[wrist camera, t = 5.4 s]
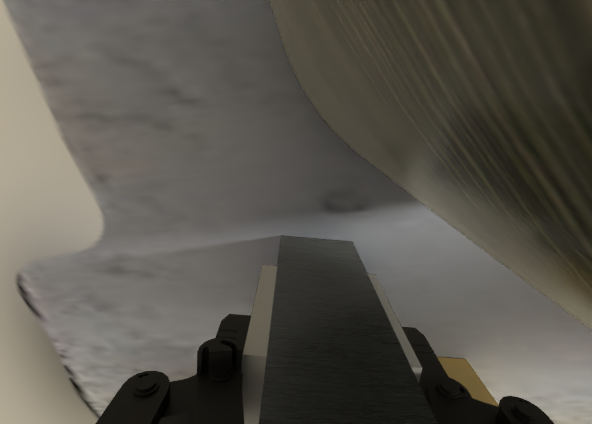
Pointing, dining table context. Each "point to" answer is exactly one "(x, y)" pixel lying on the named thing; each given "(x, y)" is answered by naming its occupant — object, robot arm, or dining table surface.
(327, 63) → the planter
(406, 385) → the wedge pin
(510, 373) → the dining table surface
